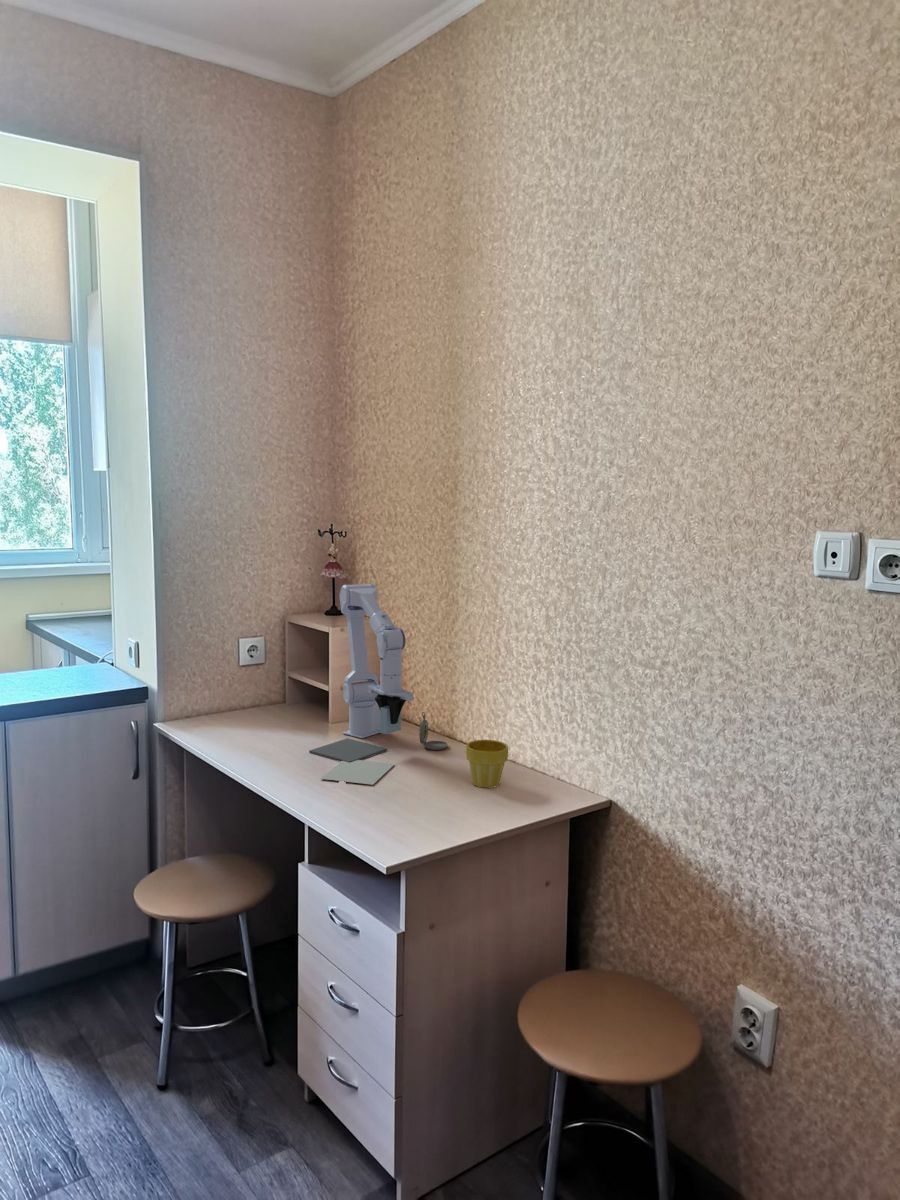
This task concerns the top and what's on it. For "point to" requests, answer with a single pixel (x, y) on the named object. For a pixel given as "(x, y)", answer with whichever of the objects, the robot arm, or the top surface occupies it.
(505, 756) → the plant pot
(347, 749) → the mat
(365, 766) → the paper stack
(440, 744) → the pocket watch
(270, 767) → the top surface
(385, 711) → the blue-grey rectangular block
